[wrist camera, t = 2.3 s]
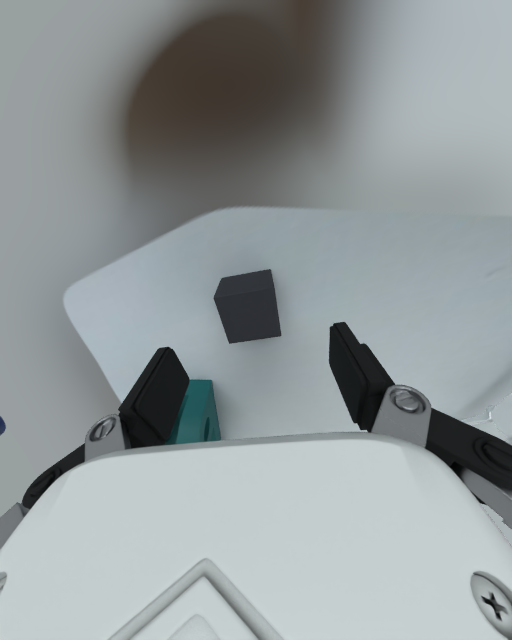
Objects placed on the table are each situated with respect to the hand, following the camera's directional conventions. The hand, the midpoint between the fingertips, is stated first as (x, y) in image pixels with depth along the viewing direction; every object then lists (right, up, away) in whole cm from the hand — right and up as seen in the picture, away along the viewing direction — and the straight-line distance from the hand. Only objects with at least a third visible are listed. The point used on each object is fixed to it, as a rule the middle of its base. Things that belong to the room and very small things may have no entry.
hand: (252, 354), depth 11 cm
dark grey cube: (0, +4, +7) cm, 8 cm away
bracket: (-9, -13, +18) cm, 25 cm away
